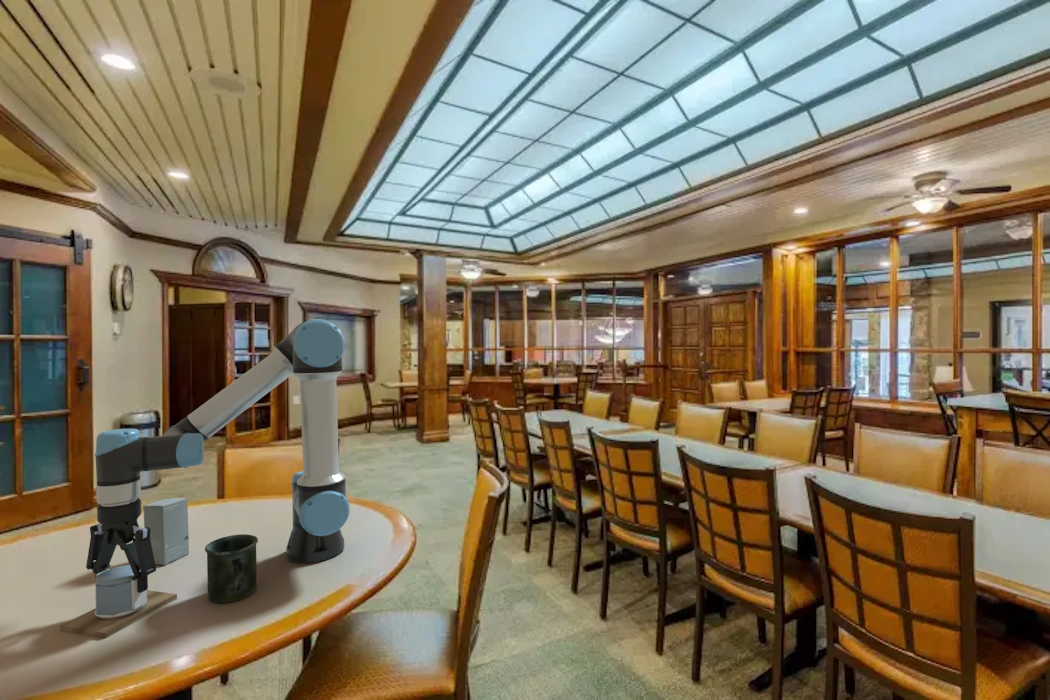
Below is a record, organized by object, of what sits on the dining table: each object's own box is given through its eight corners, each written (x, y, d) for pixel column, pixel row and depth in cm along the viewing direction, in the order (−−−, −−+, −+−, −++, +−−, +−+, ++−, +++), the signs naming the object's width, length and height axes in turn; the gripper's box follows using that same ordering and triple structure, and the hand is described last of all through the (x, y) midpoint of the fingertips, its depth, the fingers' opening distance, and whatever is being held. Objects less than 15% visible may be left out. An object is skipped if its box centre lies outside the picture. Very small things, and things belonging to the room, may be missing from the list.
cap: (143, 591, 118) (142, 561, 118) (147, 605, 112) (146, 573, 111) (95, 603, 112) (94, 572, 112) (97, 619, 106) (96, 586, 106)
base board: (177, 598, 118) (176, 594, 118) (105, 638, 103) (105, 633, 103) (135, 592, 121) (135, 588, 121) (60, 630, 106) (60, 625, 106)
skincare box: (164, 566, 135) (163, 506, 135) (142, 564, 137) (140, 505, 136) (191, 553, 144) (190, 497, 143) (170, 551, 145) (168, 495, 145)
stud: (157, 601, 115) (157, 572, 115) (117, 622, 107) (116, 591, 106) (126, 596, 117) (125, 568, 117) (84, 617, 109) (83, 587, 109)
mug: (253, 577, 129) (252, 530, 128) (267, 601, 117) (266, 549, 117) (202, 591, 122) (201, 541, 121) (211, 617, 110) (210, 562, 110)
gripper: (175, 499, 113) (177, 600, 113) (98, 492, 118) (100, 589, 118) (142, 510, 105) (145, 618, 106) (62, 503, 110) (64, 606, 111)
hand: (121, 603), depth 112 cm, fingers closed on cap, stud, 9 cm apart
